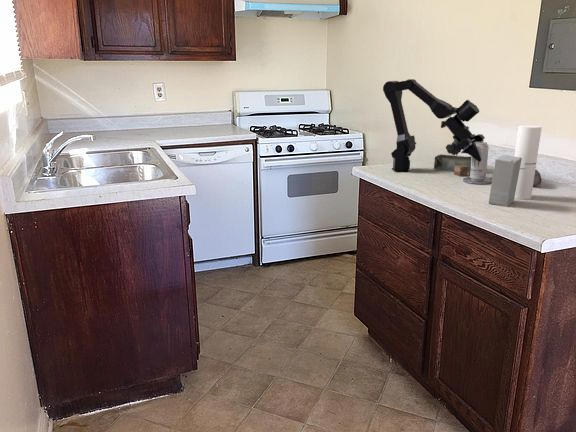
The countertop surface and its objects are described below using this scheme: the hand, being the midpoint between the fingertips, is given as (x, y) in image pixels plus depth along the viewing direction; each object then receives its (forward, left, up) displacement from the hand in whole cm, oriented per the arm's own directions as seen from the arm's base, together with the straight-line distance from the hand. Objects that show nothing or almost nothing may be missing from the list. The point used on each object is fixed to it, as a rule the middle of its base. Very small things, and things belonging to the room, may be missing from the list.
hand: (483, 159), depth 192 cm
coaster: (-1, +1, -9) cm, 9 cm away
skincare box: (-6, -30, -9) cm, 32 cm away
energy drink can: (-1, +1, -8) cm, 9 cm away
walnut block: (-3, +13, -9) cm, 16 cm away
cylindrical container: (+4, -23, -9) cm, 25 cm away
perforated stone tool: (+17, -5, -9) cm, 20 cm away
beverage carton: (0, +23, -9) cm, 25 cm away
